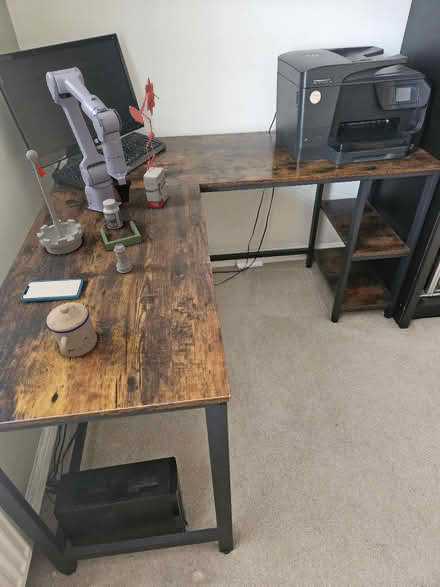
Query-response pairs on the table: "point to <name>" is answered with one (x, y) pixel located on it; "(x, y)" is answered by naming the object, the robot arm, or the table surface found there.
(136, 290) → the table surface
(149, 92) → the figurine
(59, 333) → the teacup with lid
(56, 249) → the flag stand
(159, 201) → the ink box
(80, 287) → the smartphone
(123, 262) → the rook chess piece
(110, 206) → the pill bottle
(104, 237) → the holder
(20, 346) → the table surface
